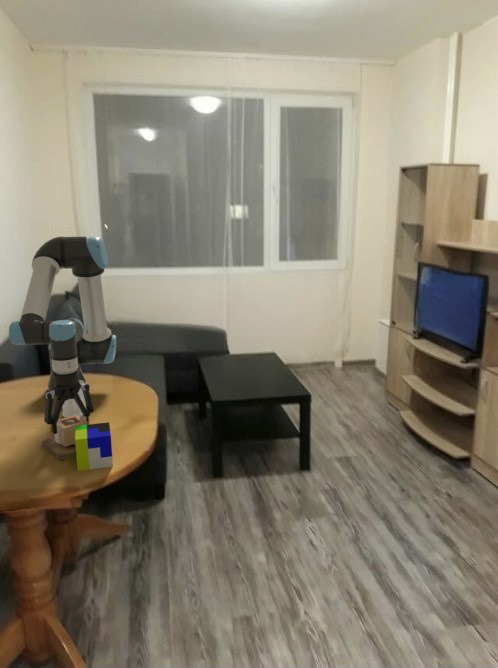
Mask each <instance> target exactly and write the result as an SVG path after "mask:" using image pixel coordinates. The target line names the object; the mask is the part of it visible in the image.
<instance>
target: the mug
mask: <svg viewBox="0 0 498 668" xmlns="http://www.w3.org/2000/svg"><path fill="white" fill-rule="evenodd" d="M79 383H80V384H83V383H84V381H82V380H79ZM78 395H79V397H80V399H81V401H82V403H83V404H84V406H85V408H86V409H87V407H86V403H85V399H84V395H83V391H82V390H81V388H80V390H79V392H78ZM81 414H83V413H82V412H81V410H80V408H79V407H78V405H77V403H76V402H75V400H74V399H69V400H66V401H65V402H64V404H63V406H62V417H63V418H66V417H69V416H73V415H78V416H80V415H81Z"/></svg>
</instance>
